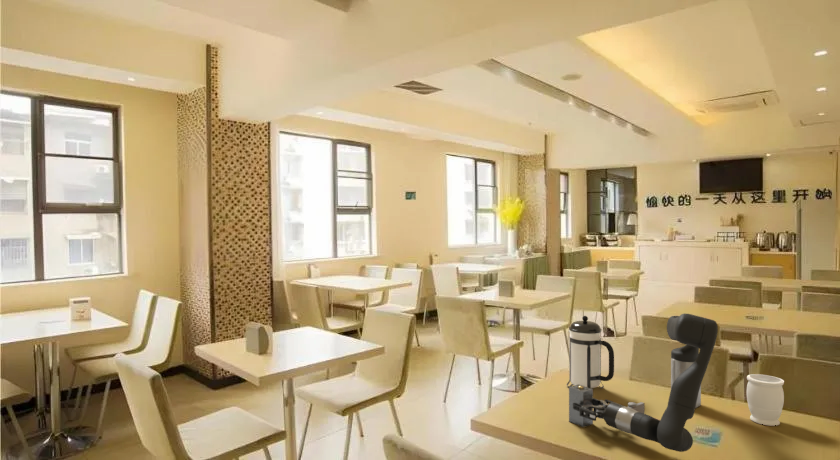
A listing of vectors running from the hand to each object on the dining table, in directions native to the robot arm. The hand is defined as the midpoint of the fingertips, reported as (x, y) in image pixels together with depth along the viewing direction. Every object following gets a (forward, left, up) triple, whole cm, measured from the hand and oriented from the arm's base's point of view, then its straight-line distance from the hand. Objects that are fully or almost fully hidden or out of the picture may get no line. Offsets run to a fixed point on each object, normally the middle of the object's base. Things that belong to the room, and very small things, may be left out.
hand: (581, 402), depth 171 cm
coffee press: (-22, -31, -7) cm, 39 cm away
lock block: (0, 0, -7) cm, 7 cm away
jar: (-62, +14, -7) cm, 64 cm away
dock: (-20, +8, -7) cm, 22 cm away
